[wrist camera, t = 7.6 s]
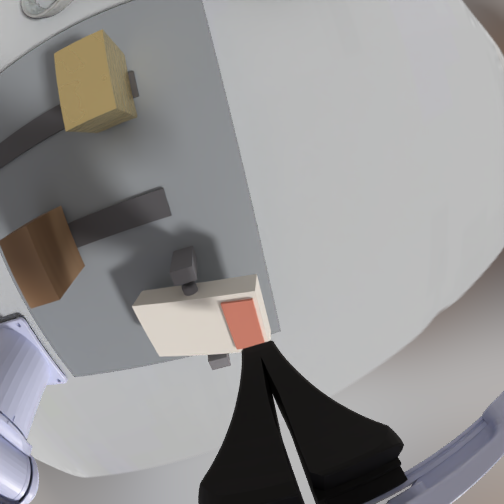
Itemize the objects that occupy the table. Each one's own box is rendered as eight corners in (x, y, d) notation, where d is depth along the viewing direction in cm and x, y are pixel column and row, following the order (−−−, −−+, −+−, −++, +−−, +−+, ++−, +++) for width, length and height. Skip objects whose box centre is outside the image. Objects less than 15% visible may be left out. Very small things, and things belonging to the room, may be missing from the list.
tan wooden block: (97, 133, 12) (65, 131, 8) (85, 71, 10) (53, 53, 7) (137, 117, 12) (116, 108, 8) (124, 54, 10) (102, 29, 7)
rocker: (168, 344, 17) (161, 362, 16) (139, 285, 15) (127, 301, 14) (271, 335, 16) (271, 355, 15) (255, 267, 14) (253, 285, 13)
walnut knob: (57, 275, 14) (30, 308, 11) (33, 218, 13) (-2, 241, 9) (85, 265, 14) (60, 299, 11) (61, 205, 13) (26, 225, 9)
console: (80, 361, 20) (66, 400, 15) (-19, 104, 10) (-57, 104, 5) (273, 315, 21) (292, 356, 17) (196, -2, 11) (198, -40, 7)
